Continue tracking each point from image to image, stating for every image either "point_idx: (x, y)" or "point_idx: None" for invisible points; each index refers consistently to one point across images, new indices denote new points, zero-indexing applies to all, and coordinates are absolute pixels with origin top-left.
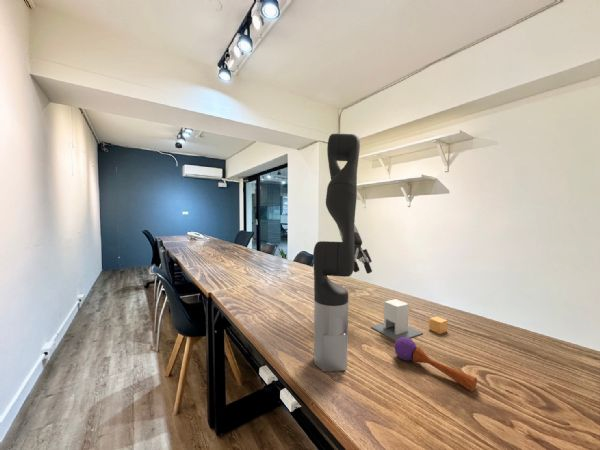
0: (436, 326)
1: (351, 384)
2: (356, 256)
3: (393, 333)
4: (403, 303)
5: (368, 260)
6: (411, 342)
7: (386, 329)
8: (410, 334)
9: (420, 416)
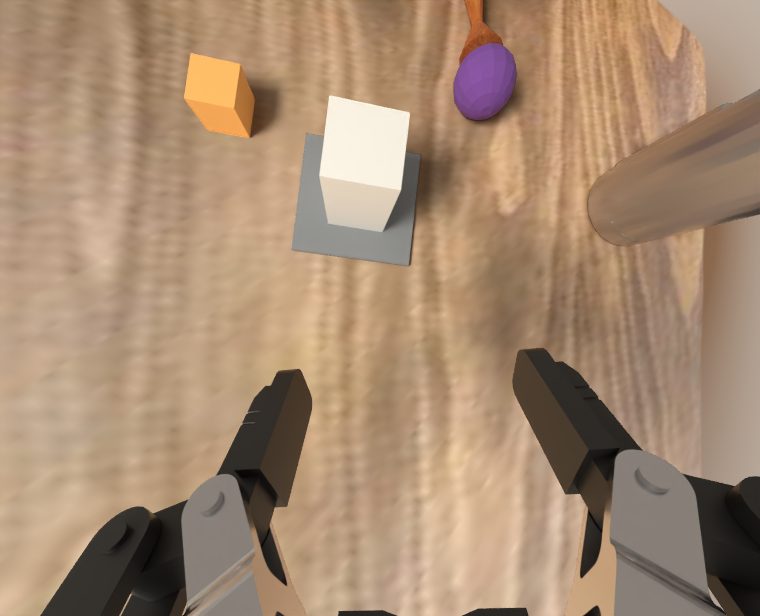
0: (245, 96)
1: (634, 128)
2: (634, 560)
3: None
4: (344, 115)
5: (195, 527)
6: (496, 44)
7: None
8: None
9: (599, 6)
